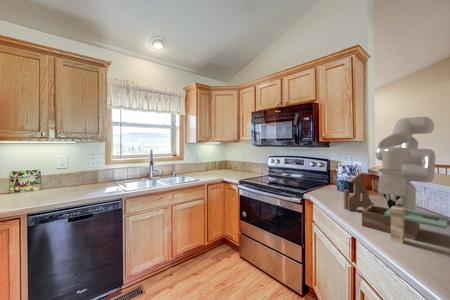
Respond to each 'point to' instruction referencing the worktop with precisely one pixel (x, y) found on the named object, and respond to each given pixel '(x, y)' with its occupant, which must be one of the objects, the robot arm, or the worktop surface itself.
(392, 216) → the block
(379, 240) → the worktop surface
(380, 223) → the open wooden box
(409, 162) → the robot arm
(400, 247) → the worktop surface
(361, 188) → the wooden toy
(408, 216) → the lid
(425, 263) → the worktop surface
